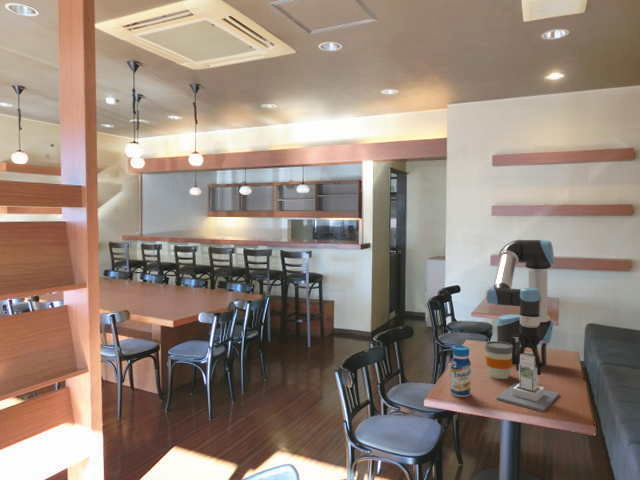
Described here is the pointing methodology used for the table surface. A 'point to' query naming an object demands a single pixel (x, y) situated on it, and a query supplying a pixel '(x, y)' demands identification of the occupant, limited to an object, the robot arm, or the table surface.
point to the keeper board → (528, 397)
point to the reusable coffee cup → (499, 359)
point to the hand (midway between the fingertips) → (528, 380)
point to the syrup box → (527, 371)
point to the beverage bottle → (460, 372)
